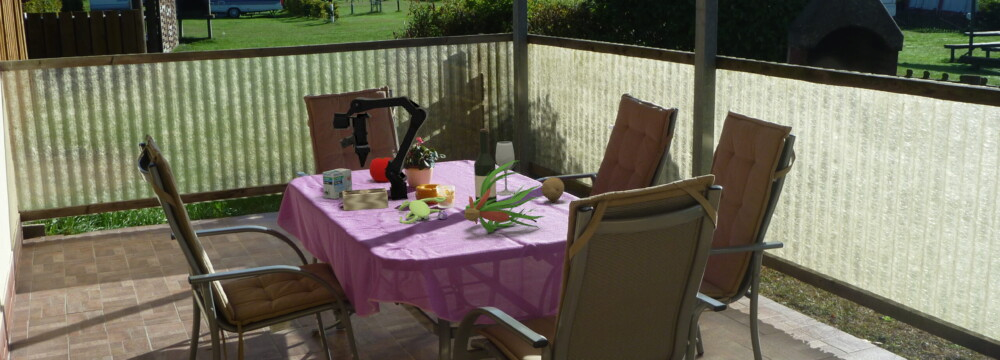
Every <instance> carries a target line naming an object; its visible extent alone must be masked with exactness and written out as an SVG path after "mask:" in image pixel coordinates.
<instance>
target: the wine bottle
mask: <svg viewBox="0 0 1000 360" xmlns="http://www.w3.org/2000/svg"><path fill="white" fill-rule="evenodd" d="M478 132H479V133H478V134H479V135H478V136H479V137H478V138H479V153H478V156H477V158H476V160H475V161H474V164H473V169H474V192H475V195H474V197H475V198H474V199H475V201H476V200H478V199H479V198H481V186H482V183H483V180H484V178H485V177H486V178H487V176H489V175H490V174H491V173H492V172H493V171H494V170H495V169H497V167H496V161H494V159H493V158H492V156H491V154H490V152H489V131H488V130H487V128H481V129H479V131H478ZM494 167H495V168H494ZM487 174H488V175H487ZM486 175H487V176H486ZM496 177H497V175H495V176H494V177H493V178H492V179H491V181H493V180H494V179H495V178H496ZM486 178H485V179H486ZM491 181H490V182H491ZM490 196H492V197H490ZM493 199H497V200H498V198H497V181H496V182H495V183H494V184H493V185H492V186H491V191H490V195H489V198H488V199H487V201H489V200H493ZM480 200H481V199H480ZM480 200H478V201H480ZM497 200H494V201H492V202H491V203H489V204H492V203H495V202H498V201H497ZM478 201H477V202H478ZM489 204H487V205H489ZM483 208H484V207H483Z"/></svg>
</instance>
